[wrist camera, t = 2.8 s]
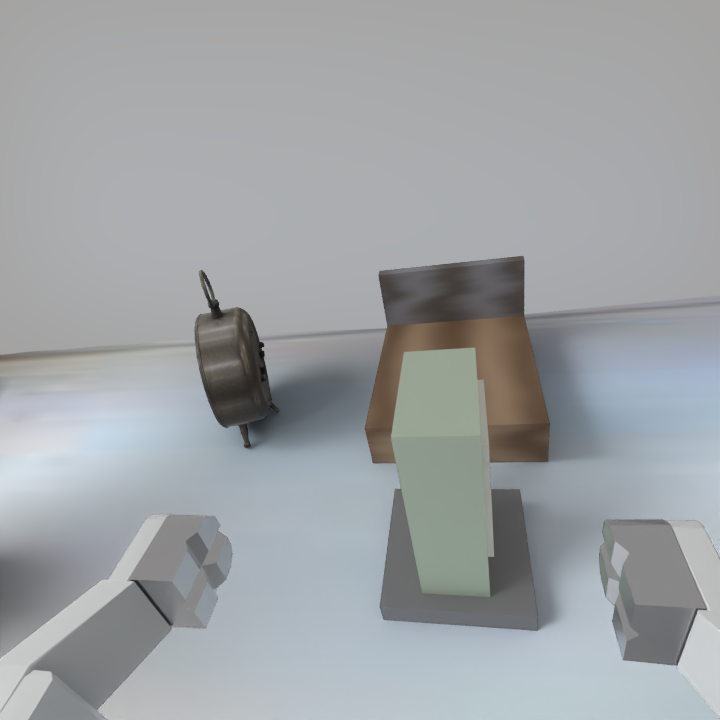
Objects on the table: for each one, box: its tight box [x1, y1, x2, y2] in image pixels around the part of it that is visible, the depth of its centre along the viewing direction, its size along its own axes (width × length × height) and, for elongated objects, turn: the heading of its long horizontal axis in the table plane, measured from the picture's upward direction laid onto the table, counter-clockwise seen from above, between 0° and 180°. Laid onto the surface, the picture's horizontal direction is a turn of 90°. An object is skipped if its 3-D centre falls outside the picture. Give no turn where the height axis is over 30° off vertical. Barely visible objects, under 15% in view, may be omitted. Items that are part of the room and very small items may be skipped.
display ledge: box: [365, 256, 550, 463], centre depth 43 cm, size 14×17×10 cm
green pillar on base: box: [380, 348, 538, 631], centre depth 28 cm, size 9×9×14 cm
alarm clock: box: [195, 270, 279, 448], centre depth 44 cm, size 11×5×16 cm, turn 12°
